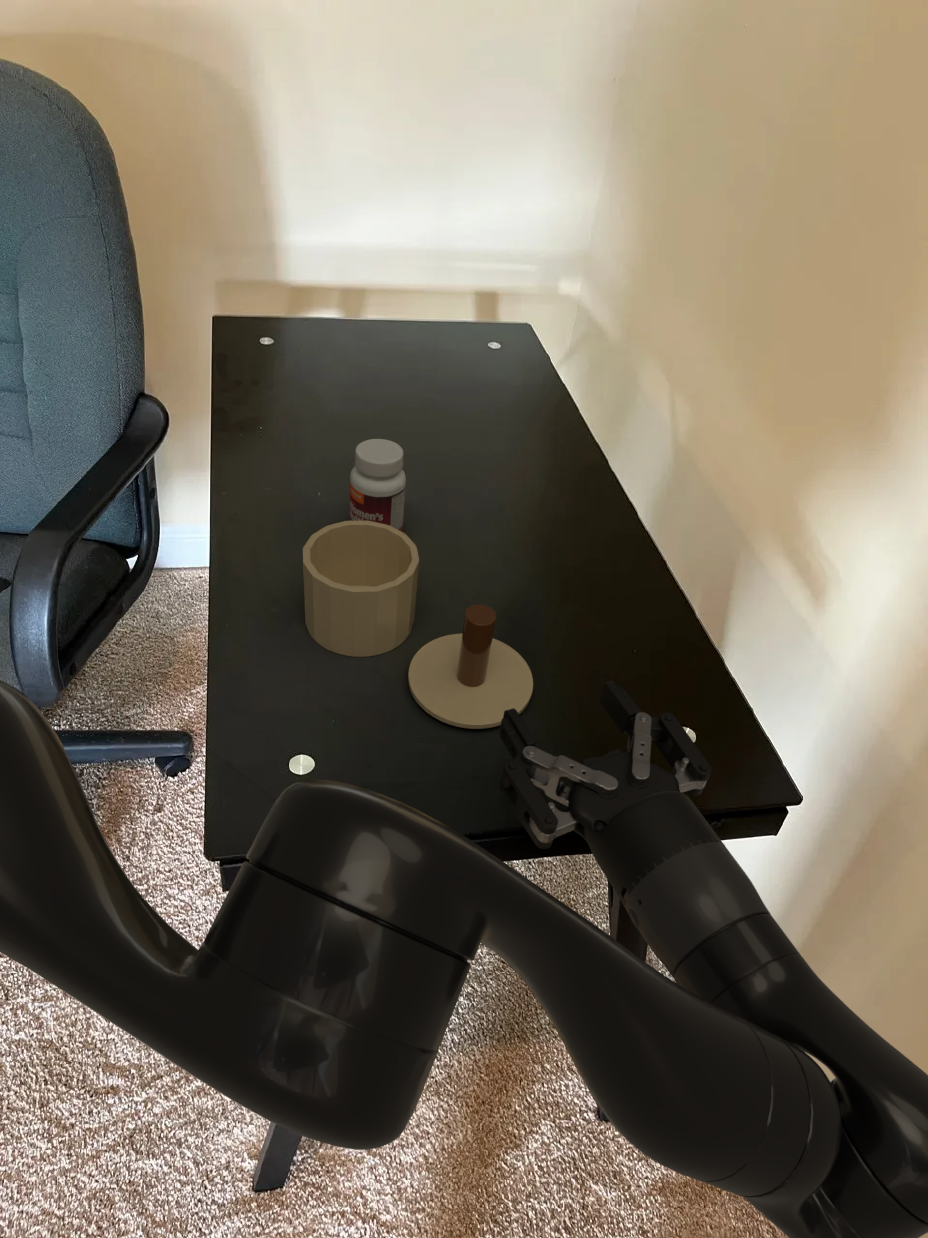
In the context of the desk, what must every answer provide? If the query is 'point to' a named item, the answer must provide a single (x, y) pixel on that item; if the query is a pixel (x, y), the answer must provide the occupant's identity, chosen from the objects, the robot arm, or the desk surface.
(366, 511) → the pill bottle
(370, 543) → the canister
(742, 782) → the desk surface
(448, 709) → the lid
